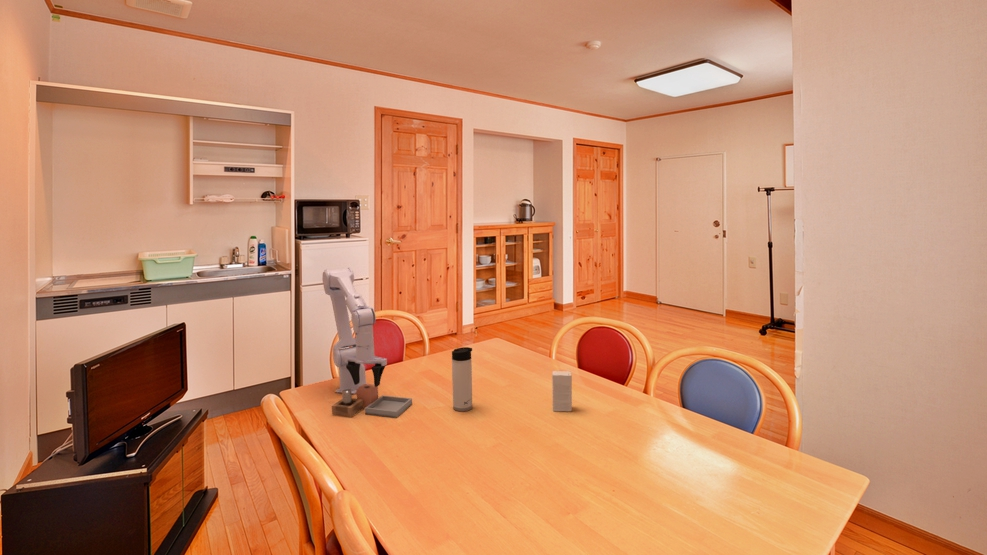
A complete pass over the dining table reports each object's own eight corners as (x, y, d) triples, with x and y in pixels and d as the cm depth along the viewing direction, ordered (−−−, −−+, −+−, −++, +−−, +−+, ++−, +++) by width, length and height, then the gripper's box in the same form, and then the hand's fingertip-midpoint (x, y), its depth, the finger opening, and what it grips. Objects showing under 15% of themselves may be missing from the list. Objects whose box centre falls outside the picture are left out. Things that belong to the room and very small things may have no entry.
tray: (382, 400, 162) (382, 395, 161) (412, 404, 158) (412, 398, 158) (365, 414, 151) (364, 408, 151) (396, 417, 148) (396, 411, 148)
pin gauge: (346, 409, 155) (345, 388, 154) (354, 410, 154) (353, 389, 153) (341, 412, 152) (340, 392, 151) (349, 413, 152) (348, 392, 151)
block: (365, 400, 162) (364, 383, 161) (378, 402, 161) (377, 384, 160) (357, 406, 158) (356, 388, 157) (370, 407, 156) (369, 390, 155)
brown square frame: (345, 406, 158) (344, 397, 157) (363, 408, 156) (363, 399, 155) (332, 414, 151) (331, 405, 151) (351, 417, 149) (351, 408, 149)
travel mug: (470, 412, 151) (469, 351, 149) (450, 411, 153) (449, 350, 150) (475, 404, 157) (474, 345, 155) (456, 403, 159) (454, 345, 156)
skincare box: (570, 406, 155) (571, 371, 153) (571, 412, 151) (572, 375, 149) (552, 406, 155) (552, 370, 154) (552, 411, 151) (552, 375, 150)
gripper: (338, 346, 155) (341, 387, 156) (378, 349, 151) (380, 390, 152) (350, 341, 161) (353, 379, 163) (389, 343, 157) (391, 383, 159)
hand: (367, 384), depth 158 cm, fingers open, 7 cm apart
